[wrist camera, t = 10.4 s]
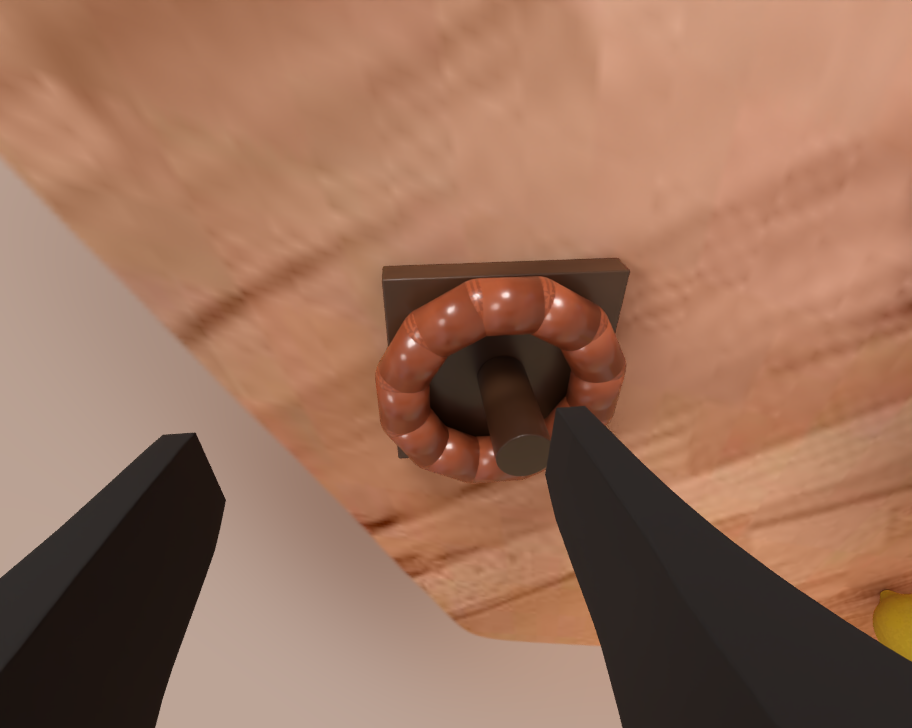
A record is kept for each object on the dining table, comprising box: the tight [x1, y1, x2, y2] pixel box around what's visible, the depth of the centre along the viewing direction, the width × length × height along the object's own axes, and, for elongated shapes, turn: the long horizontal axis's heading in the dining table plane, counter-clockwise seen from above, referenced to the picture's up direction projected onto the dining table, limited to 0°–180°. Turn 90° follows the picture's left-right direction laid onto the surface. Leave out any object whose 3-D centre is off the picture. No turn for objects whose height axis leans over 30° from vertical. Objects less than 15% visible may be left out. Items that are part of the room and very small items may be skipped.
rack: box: [382, 258, 630, 476], centre depth 18 cm, size 9×9×6 cm
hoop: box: [375, 276, 626, 483], centre depth 19 cm, size 10×10×2 cm
